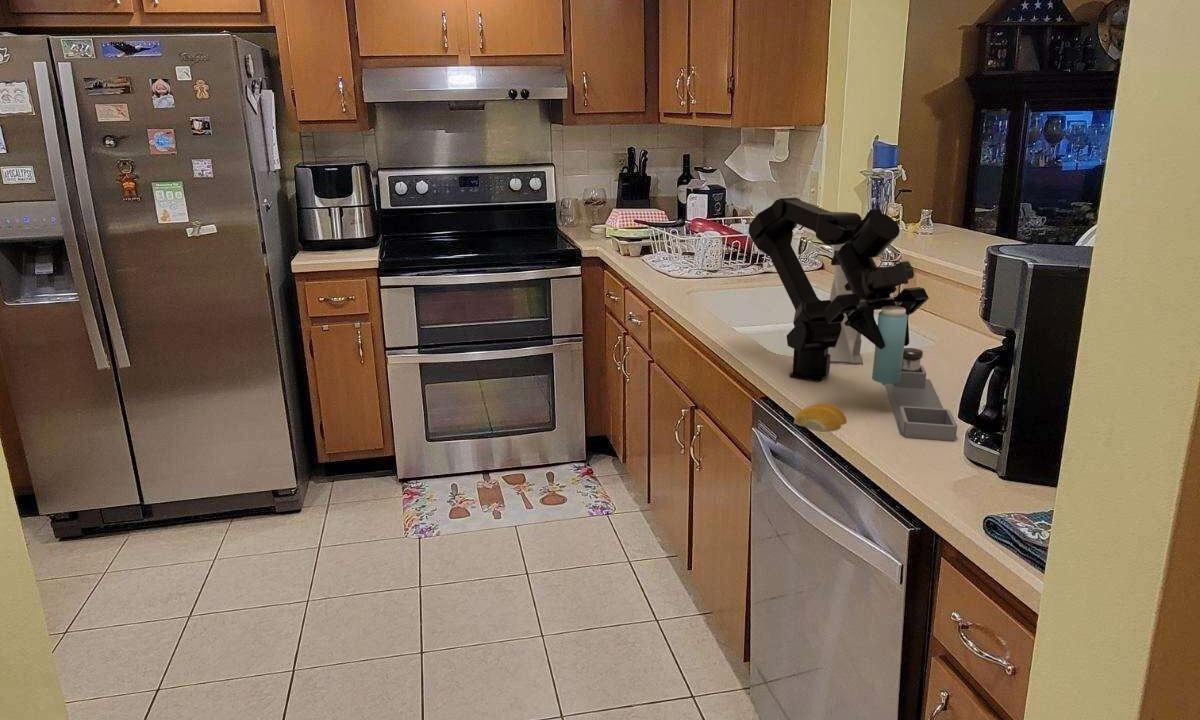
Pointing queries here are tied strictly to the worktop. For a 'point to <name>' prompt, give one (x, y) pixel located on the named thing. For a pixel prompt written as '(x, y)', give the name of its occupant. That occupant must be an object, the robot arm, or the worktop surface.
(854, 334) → the skyscraper
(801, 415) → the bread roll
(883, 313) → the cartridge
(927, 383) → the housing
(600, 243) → the worktop surface
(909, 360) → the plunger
